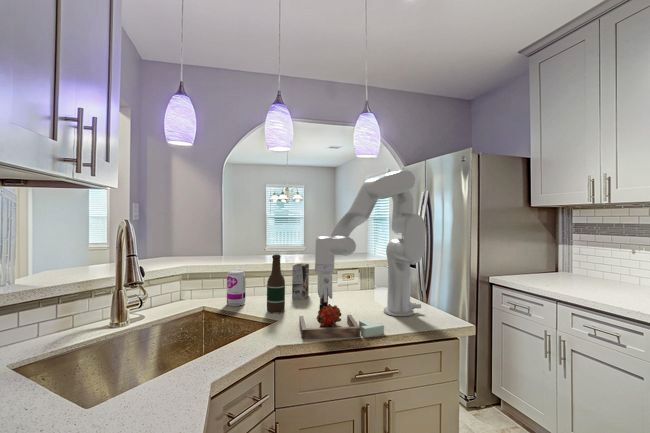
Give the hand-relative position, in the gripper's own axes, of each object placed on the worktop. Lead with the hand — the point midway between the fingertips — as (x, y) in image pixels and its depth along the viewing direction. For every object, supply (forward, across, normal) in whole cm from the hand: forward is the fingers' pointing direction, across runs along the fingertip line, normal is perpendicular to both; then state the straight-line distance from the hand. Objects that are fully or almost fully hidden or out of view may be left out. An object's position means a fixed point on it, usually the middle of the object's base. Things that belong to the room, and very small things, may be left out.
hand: (323, 314), depth 139 cm
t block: (+2, -14, -14) cm, 20 cm away
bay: (+2, -10, 0) cm, 10 cm away
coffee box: (+3, +38, +7) cm, 39 cm away
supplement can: (+3, +27, +37) cm, 46 cm away
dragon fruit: (+3, -6, -1) cm, 7 cm away
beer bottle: (+3, +15, +19) cm, 24 cm away
